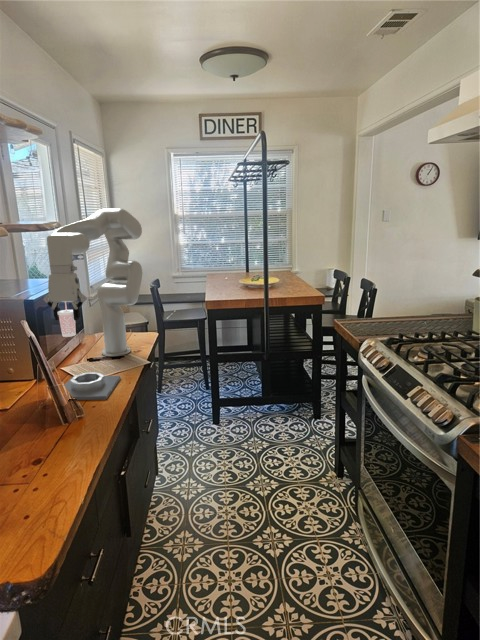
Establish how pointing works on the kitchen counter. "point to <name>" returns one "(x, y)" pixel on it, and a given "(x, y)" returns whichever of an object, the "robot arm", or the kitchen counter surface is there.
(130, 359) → the kitchen counter surface
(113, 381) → the plate
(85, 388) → the steel collar
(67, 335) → the beverage cup
